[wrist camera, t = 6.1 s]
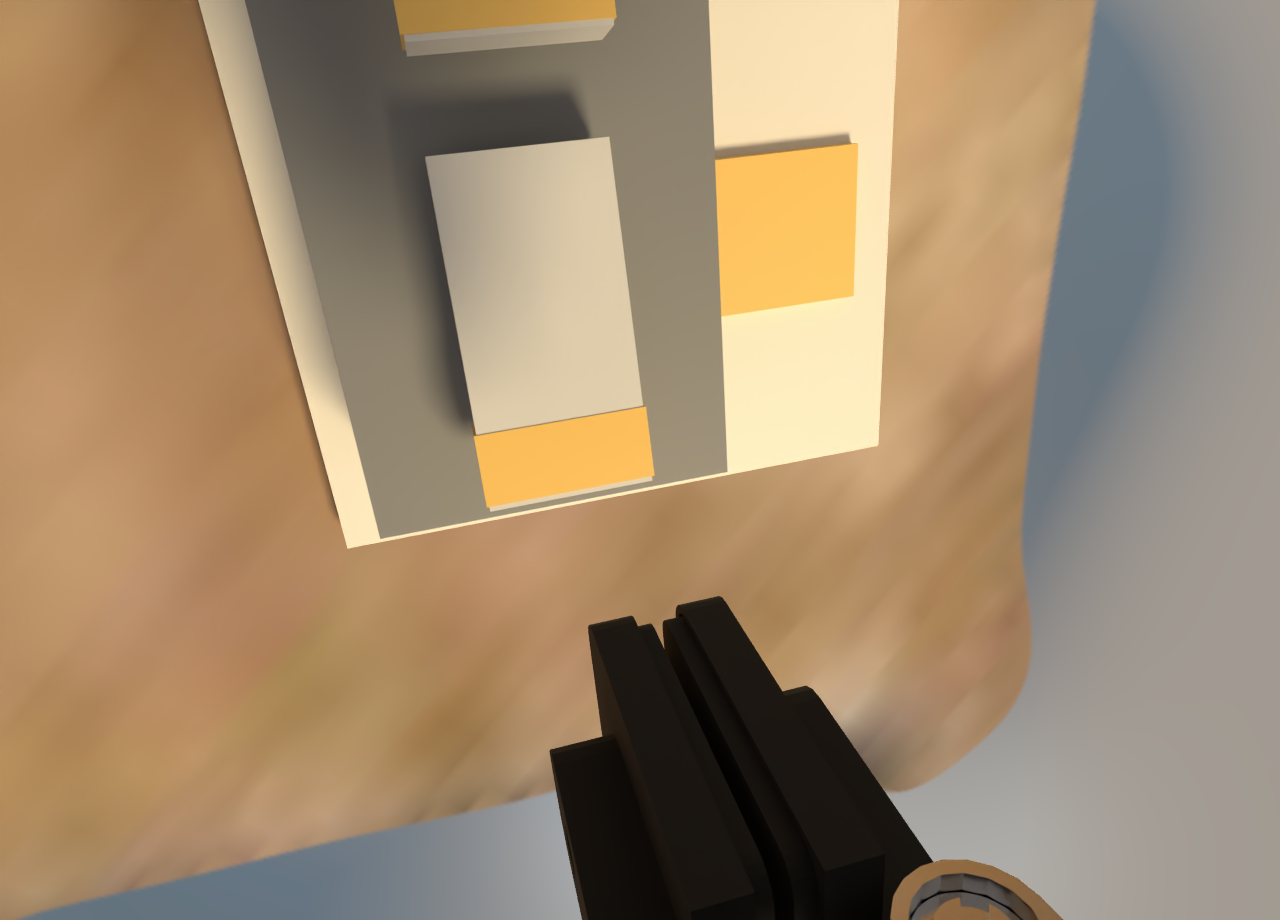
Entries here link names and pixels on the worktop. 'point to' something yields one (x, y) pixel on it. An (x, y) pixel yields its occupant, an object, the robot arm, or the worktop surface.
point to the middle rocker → (499, 23)
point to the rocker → (543, 319)
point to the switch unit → (649, 218)
